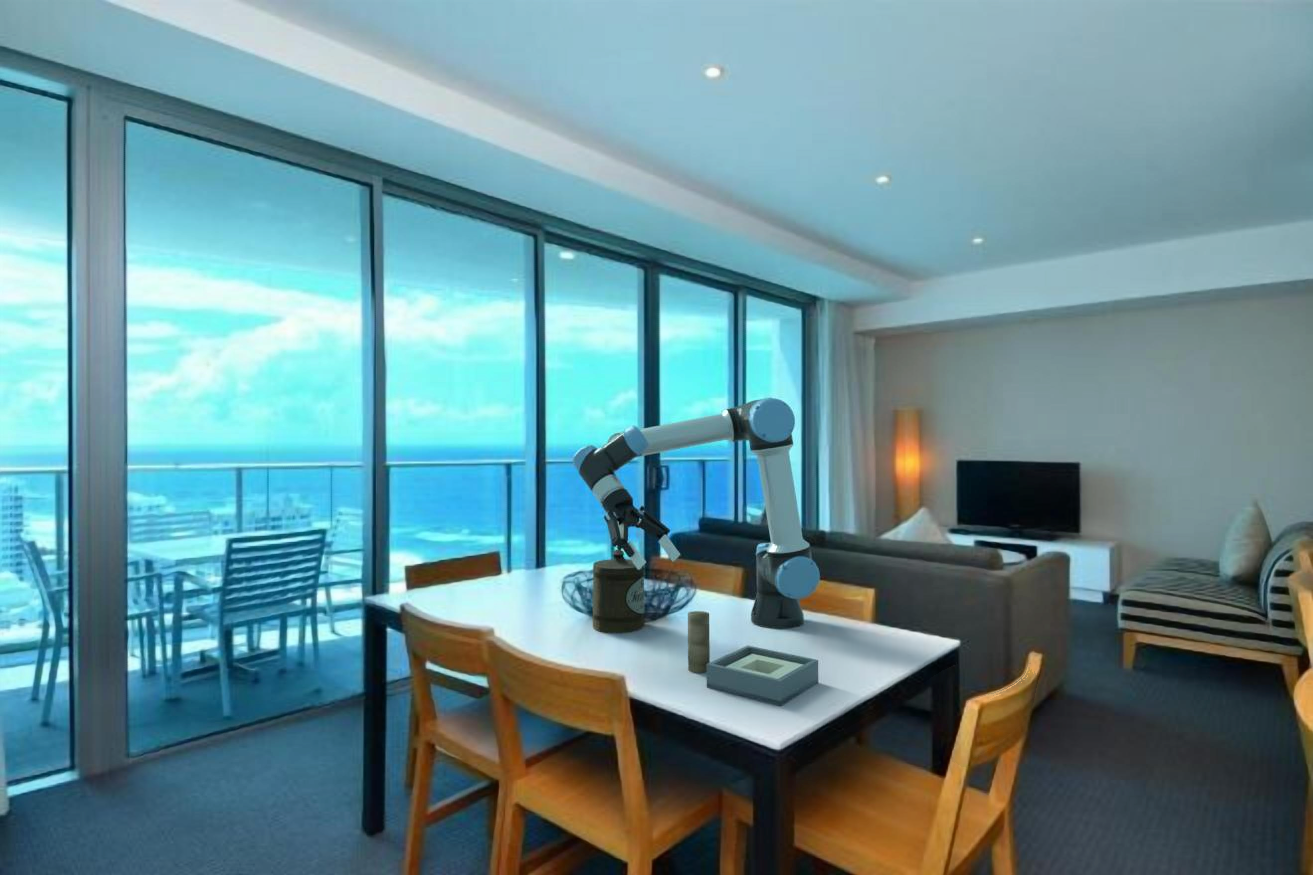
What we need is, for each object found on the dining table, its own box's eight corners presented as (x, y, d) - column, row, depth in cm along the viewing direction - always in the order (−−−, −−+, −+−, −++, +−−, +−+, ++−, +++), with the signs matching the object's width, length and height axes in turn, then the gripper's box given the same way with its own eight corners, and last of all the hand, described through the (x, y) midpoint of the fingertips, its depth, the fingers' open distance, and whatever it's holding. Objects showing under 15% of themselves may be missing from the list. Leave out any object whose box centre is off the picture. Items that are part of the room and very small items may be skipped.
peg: (696, 664, 170) (695, 610, 170) (713, 668, 167) (713, 613, 167) (684, 670, 166) (683, 614, 166) (701, 674, 163) (701, 617, 163)
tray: (747, 666, 168) (747, 645, 168) (818, 682, 157) (818, 659, 157) (706, 687, 155) (706, 664, 155) (780, 706, 144) (780, 681, 144)
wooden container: (643, 633, 197) (642, 553, 197) (590, 633, 197) (589, 554, 197) (645, 619, 212) (644, 545, 212) (595, 619, 212) (594, 545, 212)
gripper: (636, 502, 194) (681, 564, 185) (571, 510, 174) (617, 579, 165) (652, 484, 191) (698, 545, 182) (587, 489, 171) (635, 559, 162)
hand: (660, 562), depth 173 cm, fingers open, 13 cm apart
